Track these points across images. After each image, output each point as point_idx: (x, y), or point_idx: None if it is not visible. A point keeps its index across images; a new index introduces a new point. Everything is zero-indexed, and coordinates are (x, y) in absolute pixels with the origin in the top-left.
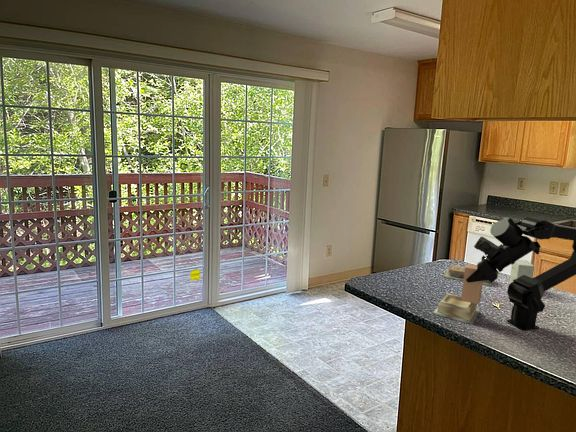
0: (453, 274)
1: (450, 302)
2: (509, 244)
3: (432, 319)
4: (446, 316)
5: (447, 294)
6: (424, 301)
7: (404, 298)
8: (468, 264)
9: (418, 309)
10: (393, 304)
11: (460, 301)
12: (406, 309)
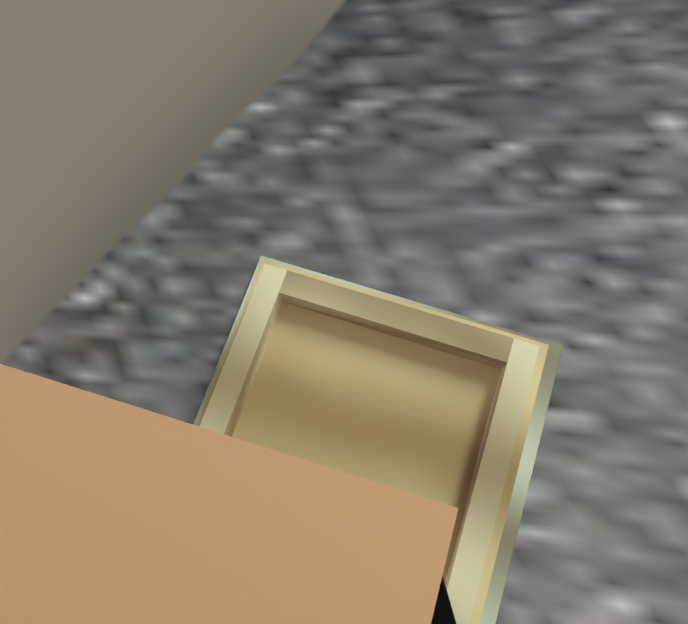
0: None
1: (351, 373)
2: None
3: (158, 255)
4: (223, 355)
5: (498, 344)
6: (515, 205)
7: (508, 68)
8: (329, 510)
9: (319, 164)
10: (348, 10)
11: (425, 479)
12: (287, 89)
